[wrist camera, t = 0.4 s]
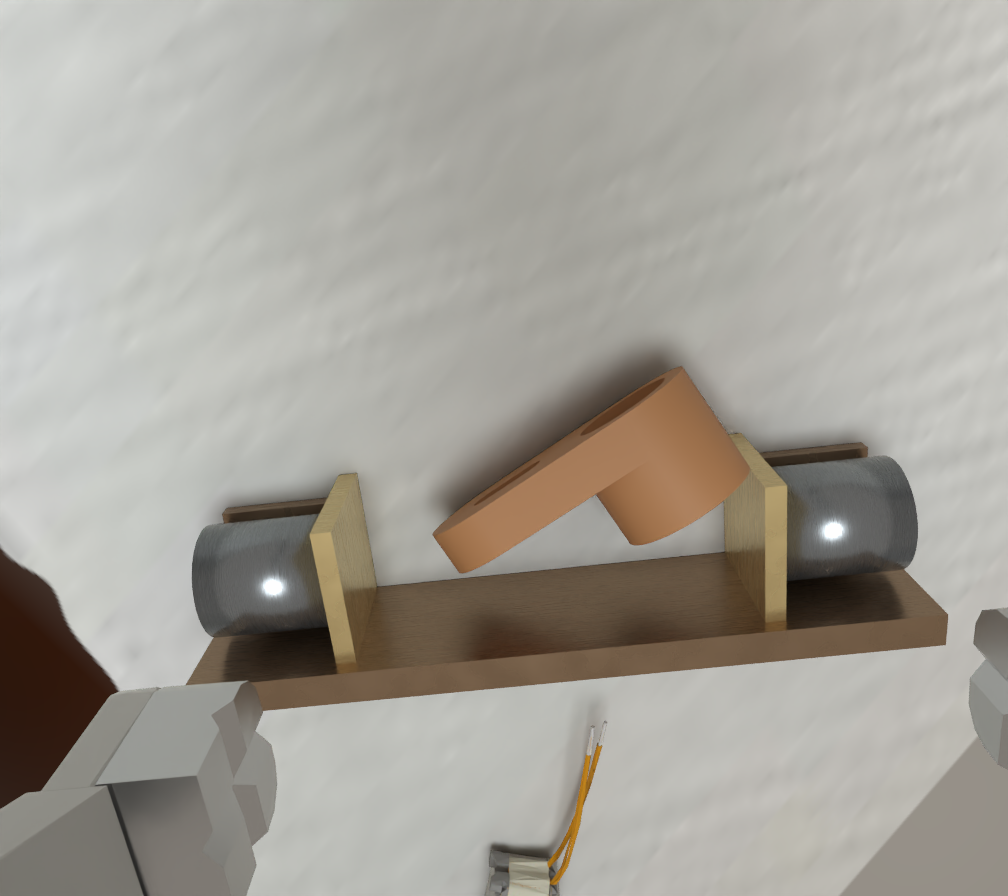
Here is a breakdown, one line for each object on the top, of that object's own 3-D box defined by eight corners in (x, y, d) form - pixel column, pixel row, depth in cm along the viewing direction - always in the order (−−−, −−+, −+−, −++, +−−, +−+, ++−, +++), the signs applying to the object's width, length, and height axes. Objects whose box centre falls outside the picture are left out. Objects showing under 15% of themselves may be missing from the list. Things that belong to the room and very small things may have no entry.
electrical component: (526, 679, 60) (529, 723, 55) (607, 690, 60) (616, 736, 55) (473, 923, 68) (471, 981, 63) (545, 932, 68) (548, 990, 63)
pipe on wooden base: (207, 489, 54) (146, 558, 45) (877, 418, 53) (959, 475, 44) (241, 626, 58) (191, 717, 49) (871, 563, 57) (945, 644, 47)
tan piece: (687, 373, 43) (759, 481, 44) (678, 361, 51) (739, 452, 52) (418, 550, 47) (487, 647, 48) (448, 513, 55) (507, 597, 56)
